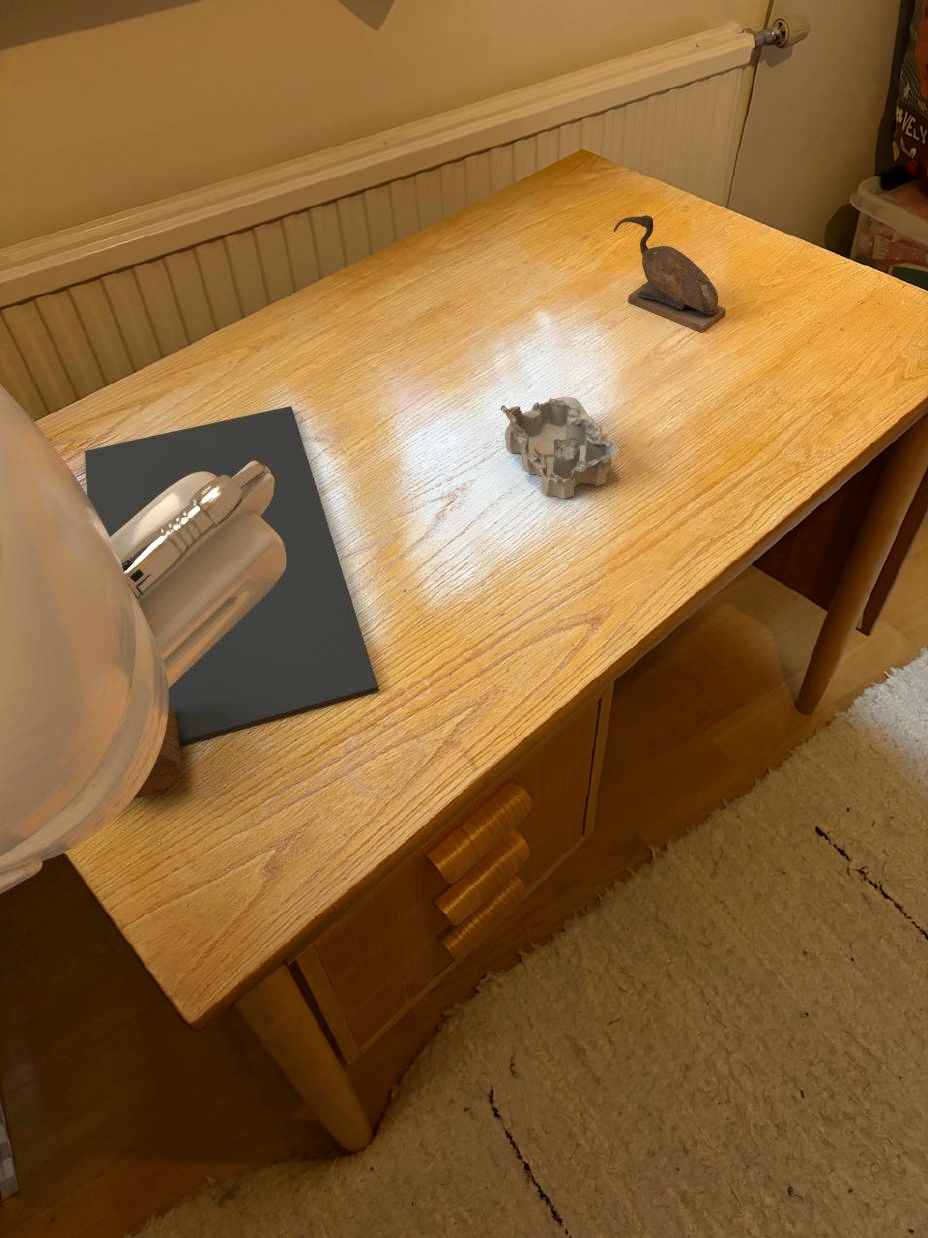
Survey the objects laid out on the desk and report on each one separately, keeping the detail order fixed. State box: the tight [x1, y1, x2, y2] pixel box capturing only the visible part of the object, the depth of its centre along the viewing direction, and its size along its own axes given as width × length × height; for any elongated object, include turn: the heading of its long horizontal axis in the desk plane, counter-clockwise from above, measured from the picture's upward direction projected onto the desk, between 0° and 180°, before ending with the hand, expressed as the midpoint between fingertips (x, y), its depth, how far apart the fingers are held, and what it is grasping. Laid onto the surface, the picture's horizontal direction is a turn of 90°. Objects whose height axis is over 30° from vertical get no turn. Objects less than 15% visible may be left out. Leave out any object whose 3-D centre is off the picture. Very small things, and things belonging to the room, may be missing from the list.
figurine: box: [613, 215, 727, 333], centre depth 94 cm, size 14×4×9 cm, turn 47°
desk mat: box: [84, 405, 380, 747], centre depth 74 cm, size 20×36×1 cm, turn 17°
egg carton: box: [500, 396, 621, 499], centre depth 79 cm, size 11×8×4 cm
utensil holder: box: [133, 704, 181, 799], centre depth 61 cm, size 6×6×12 cm
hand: (77, 741), depth 36 cm, fingers closed
